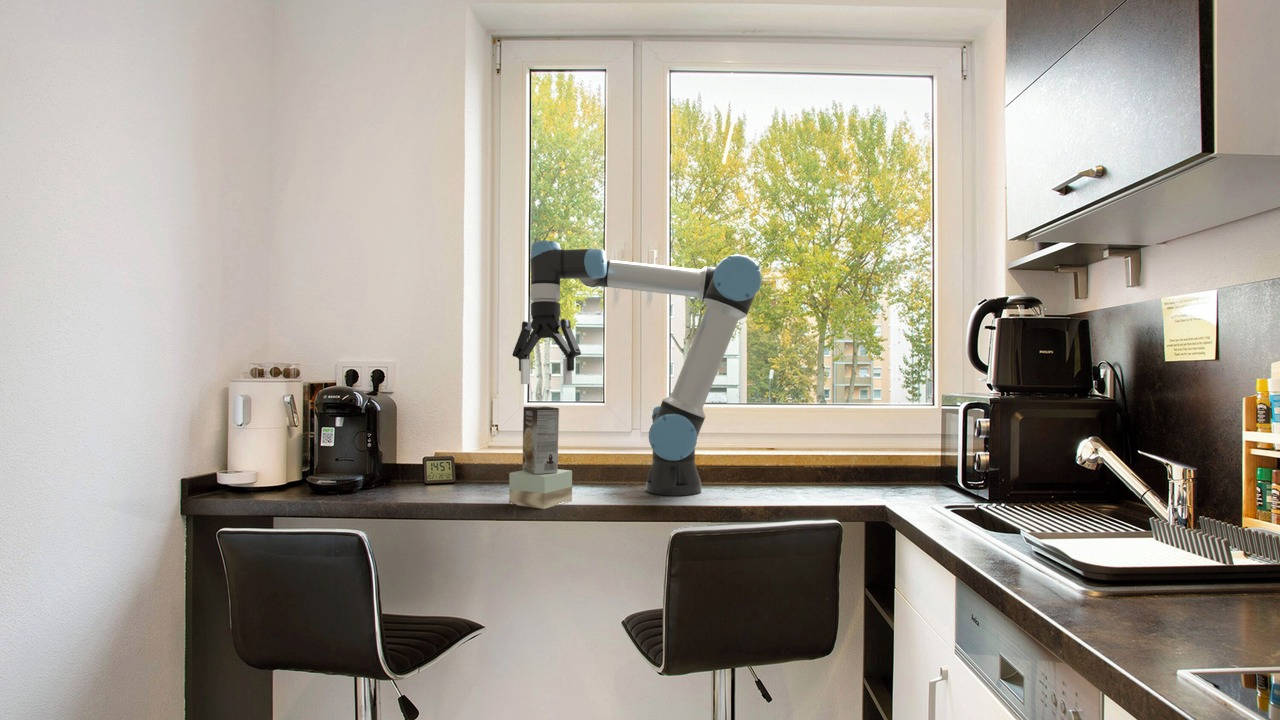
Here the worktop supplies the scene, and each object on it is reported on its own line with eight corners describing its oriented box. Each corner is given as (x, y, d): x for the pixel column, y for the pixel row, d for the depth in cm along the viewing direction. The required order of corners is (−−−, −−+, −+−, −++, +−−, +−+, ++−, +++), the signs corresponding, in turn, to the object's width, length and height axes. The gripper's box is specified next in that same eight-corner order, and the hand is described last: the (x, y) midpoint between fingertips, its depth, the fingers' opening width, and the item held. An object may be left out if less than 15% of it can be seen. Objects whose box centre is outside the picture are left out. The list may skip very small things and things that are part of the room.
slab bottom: (571, 502, 159) (572, 486, 160) (544, 510, 150) (544, 493, 150) (538, 498, 165) (538, 482, 165) (509, 505, 156) (509, 489, 156)
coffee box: (521, 469, 160) (522, 406, 161) (544, 468, 163) (545, 406, 164) (534, 474, 152) (535, 407, 153) (559, 472, 155) (560, 407, 156)
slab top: (572, 486, 160) (572, 470, 160) (544, 493, 150) (544, 476, 150) (537, 482, 165) (538, 467, 165) (509, 489, 156) (509, 472, 156)
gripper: (594, 300, 160) (594, 383, 160) (517, 306, 173) (517, 383, 172) (577, 297, 154) (577, 384, 153) (498, 303, 166) (499, 384, 166)
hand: (546, 384), depth 163 cm, fingers open, 13 cm apart
